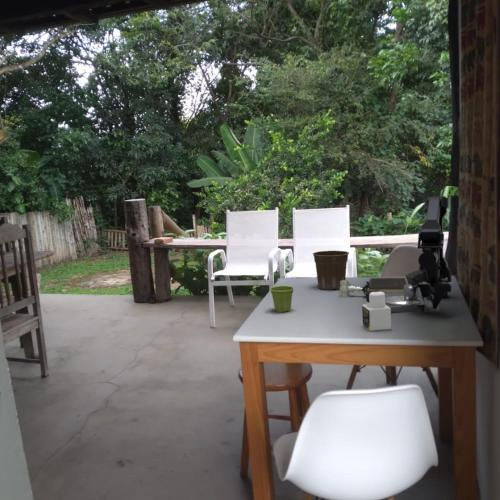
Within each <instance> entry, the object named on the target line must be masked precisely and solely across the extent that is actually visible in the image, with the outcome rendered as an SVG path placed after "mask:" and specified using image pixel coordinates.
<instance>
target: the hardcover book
mask: <svg viewBox="0 0 500 500" xmlns="http://www.w3.org/2000/svg"><path fill="white" fill-rule="evenodd" d="M369 283H370V285H369V287H370V290H369V291H371V290H380V291H383V292H385V293H404V285H407V279H406V277H382V278H381V277H377V278H376V277H371V278H370V279H369Z"/></svg>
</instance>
